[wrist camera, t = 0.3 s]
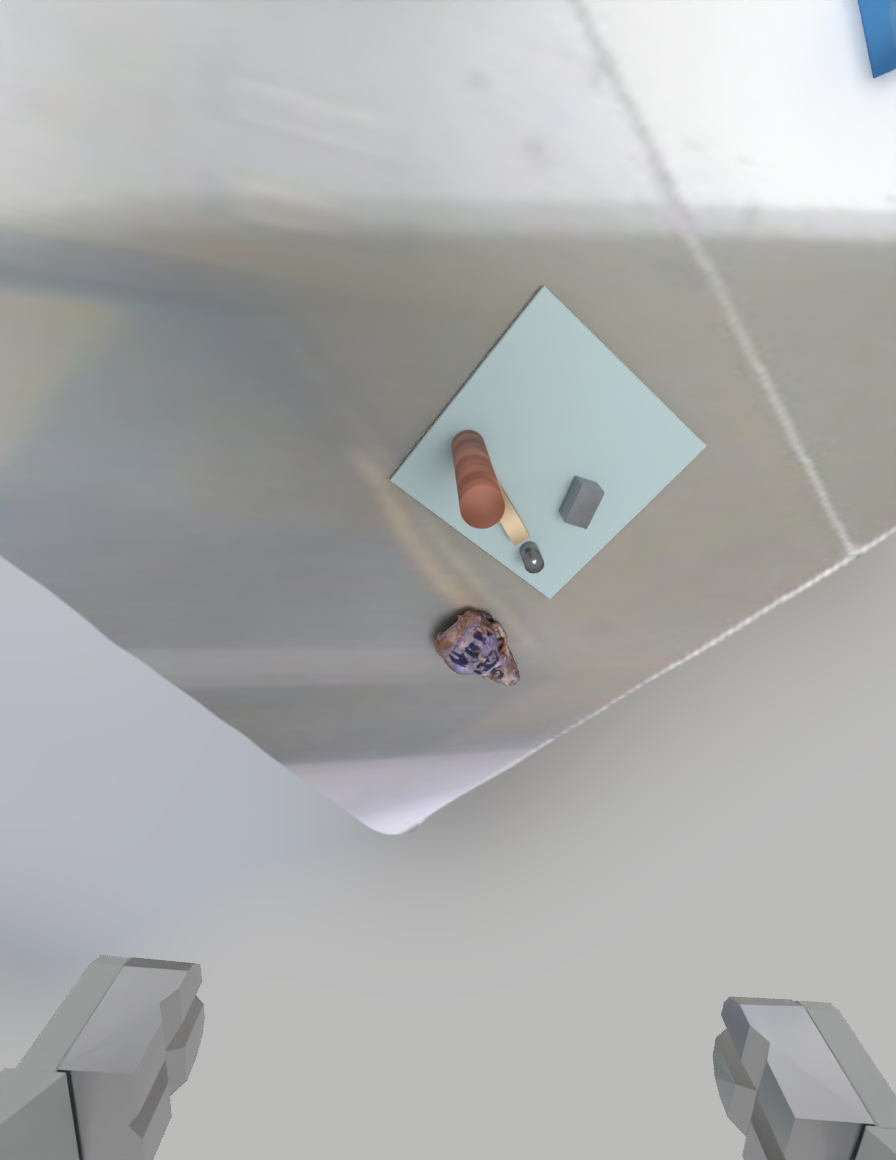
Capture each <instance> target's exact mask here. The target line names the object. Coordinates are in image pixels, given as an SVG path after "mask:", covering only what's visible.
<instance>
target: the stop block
mask: <svg viewBox="0 0 896 1160" xmlns="http://www.w3.org/2000/svg"><path fill="white" fill-rule="evenodd" d="M604 494H605V492H604V491H603V490H602V488H601V487H600V486H599V485H598V483H597V482H594V481H591V480H588V479H585V478H582V477H579V476H576V475H575V477H574V479H573V481H572V483H571V485H570V487H569V489H568V492H567V494H566V496H565V498H564V500H563V502H562V504H561V507H560V509H559V513H560V515H561V516H562V518H563V520H564V522H565V523H568V524H571V525H575V526H578V527H581V528H584V529H587V528H588V526H589V524H590V522H591V520H592V518H593V516H594V514H595V512H596V510H597V508H598V506H599V504H600V502H601V500H602V498H603V496H604Z"/></svg>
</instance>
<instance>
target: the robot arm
mask: <svg viewBox="0 0 896 1160" xmlns="http://www.w3.org/2000/svg"><path fill="white" fill-rule="evenodd" d="M201 982H202V976H201V968H200V964H195V963H185V962H175V961H164V960H154V959H143V958H131V957H118V956H106V955H105V956H104V955H100V956H99V957H98V958H97V959H96V960H94V961H93V962H92V963H91V964H90V965H89V966H88V967H87V969H86V970H85V971H84V973H83V974H82V976H81V977H80V978H79V980H78V981H77V983H76V984H75V986H74V987H73V989H72V990H71V991H70V993H69V994H68V995H67V997H66V998H65V1000H64V1001H63V1002H62V1004H61V1005H60V1007H59V1008H58V1009H57V1011H56V1012H55V1014H54V1015H53V1017H52V1018H51V1019H50V1021H49V1022H48V1024H47V1025H46V1026H45V1028H44V1029H43V1031H42V1032H41V1034H40V1035H39V1036H38V1038H37V1039H36V1041H35V1042H34V1043H33V1045H32V1046H31V1048H30V1049H29V1051H28V1052H27V1053H26V1055H25V1056H24V1058H23V1059H22V1060H21V1062H20V1063H19V1065H18V1066H17V1067H16V1069H12V1068H5V1069H4V1070H2V1071H1V1072H0V1160H153V1158H154V1156H155V1154H156V1151H157V1149H158V1147H159V1144H160V1142H161V1140H162V1137H163V1135H164V1133H165V1131H166V1128H167V1126H168V1124H169V1121H170V1119H171V1105H170V1096H171V1095H172V1094H173V1093H174V1092H175V1091H176V1090H177V1089H178V1088H179V1087H181V1086H182V1085H183V1084H184V1083H185V1082H186V1081H187V1079H188V1076H189V1074H190V1072H191V1069H192V1067H193V1064H194V1062H195V1059H196V1056H197V1053H198V1048H199V1045H200V1042H201V1038H202V1034H203V1025H204V1004H203V1003H202V1002H201V1000H199V998H198V997H197V996H196V993H197V991H198V988H199V987H200V984H201ZM721 1016H722V1018H723V1021H724V1023H725V1025H726V1027H727V1029H726V1030H724V1031H723V1032H722V1033H721V1034H720V1035H719V1036H717V1037H716V1040H715V1046H714V1052H713V1062H714V1073H715V1079H716V1083H717V1087H718V1091H719V1095H720V1098H721V1101H722V1103H723V1106H724V1109H725V1111H726V1114H727V1117H728V1118H729V1119H730V1120H731V1121H732V1122H733V1123H734V1124H735V1125H736V1127H737V1128H738V1129H739V1130H740V1131H741V1132H742V1133H743V1134H744V1135H745V1136H746V1139H745V1144H744V1150H743V1158H744V1160H896V1096H895V1094H894V1092H893V1091H892V1090H891V1088H890V1086H889V1085H888V1083H887V1082H886V1080H885V1079H884V1078H883V1076H882V1074H881V1073H880V1071H879V1070H878V1068H877V1067H876V1065H875V1064H874V1062H873V1061H872V1059H871V1058H870V1056H869V1055H868V1053H867V1052H866V1050H865V1049H864V1047H863V1046H862V1044H861V1043H860V1041H859V1040H858V1038H857V1037H856V1035H855V1034H854V1032H853V1031H852V1029H851V1028H850V1026H849V1025H848V1023H847V1021H846V1020H845V1018H844V1017H843V1015H842V1014H841V1013H840V1011H839V1010H838V1009H837V1008H836V1007H834V1006H833V1005H832V1004H831V1003H823V1002H822V1003H821V1002H808V1001H793V1000H788V999H787V1000H786V999H767V998H746V997H729V998H728V999H727V1000H726V1001H725V1002H724V1005H723V1009H722V1013H721Z"/></svg>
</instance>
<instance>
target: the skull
mask: <svg viewBox="0 0 896 1160" xmlns="http://www.w3.org/2000/svg"><path fill="white" fill-rule="evenodd" d="M457 617H458V621H457V622H456V623H454V624H453V625H452V626H451V627H450V628H448V629H447V630H446V631H444V632H439V633H438V635H437V639H435V643H434V646H435V649H436V651H437V653H438V654H439V655H440V656H442V658H443V659H444V661H445V663H446V664H447V665H448V666H449V667H450V668H451V669H452V670H453V671H454V672H456V673H458V674H462V675H480V676H483V678H489V679H491V680H493V681H495V682H497V683H502V684H504V685H505V686H509V685H510V686H514V685H516V683H517V681H519V679H520V676H519V671H518V669H517V664H516V663H515V662H514V659H513V656H512V653H511V652H510V651H509V648H508V646H507V635H506V633H505V632H504V630H503V629H502V627H501V625H500V624H499V623H497V622H495V621H493V618H492V616H491V615H489V614H486V613H479V612H477V611H472V610H468V611H467V612H465V613H464V615H457ZM494 630H495V631H497V632H499V635H500V636H501V637H503V639H500V640H499V639H498V640H497V638H496V635H495V631H494Z"/></svg>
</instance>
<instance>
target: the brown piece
mask: <svg viewBox="0 0 896 1160" xmlns="http://www.w3.org/2000/svg"><path fill="white" fill-rule="evenodd" d="M452 455H453V462H454V470H455V477H456V484H457V492H458V499H459V507H460V513H461V516H462V518H463V520H464V521H465V522H466V523H467V524H468V525H470V526H471V527H474V528H478V529H486V528H489V527H492V526H494V525H495V524H497V523H498V522H499V521H500V523H501V524H502V526H503V528H504V529H505V531H506V533H507V534H508V536H509V538H510V539H511V541H512V543H513V544H514V546H515V545H517V544H519V543H521V542H523V541H524V540H526V539H528V538H530V535H529V533H528V530H527V529H526V527H525V525H524V523H523V522H522V520H521V518H520V517H519V515H518V513H517V511H516V510H515V508H514V506H513V504H512V503H511V501H510V499H509V497H508V496H507V494H506V492H505V491H504V489H503V487H502V485H501V484H500V482H499V480H498V478H497V477H496V475H495V472H494V469H493V466H492V463H491V460H490V457H489V454H488V451H487V448H486V445H485V442H484V440H483V438H482V436H481V435H480V434H479V433H477V432H475V431H472V430H465V431H462V432H460V433H459V434H457V435H456V436H455V438H454V439H453V442H452Z"/></svg>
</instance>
